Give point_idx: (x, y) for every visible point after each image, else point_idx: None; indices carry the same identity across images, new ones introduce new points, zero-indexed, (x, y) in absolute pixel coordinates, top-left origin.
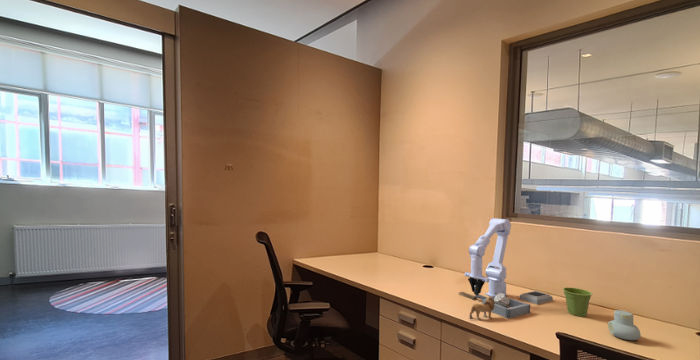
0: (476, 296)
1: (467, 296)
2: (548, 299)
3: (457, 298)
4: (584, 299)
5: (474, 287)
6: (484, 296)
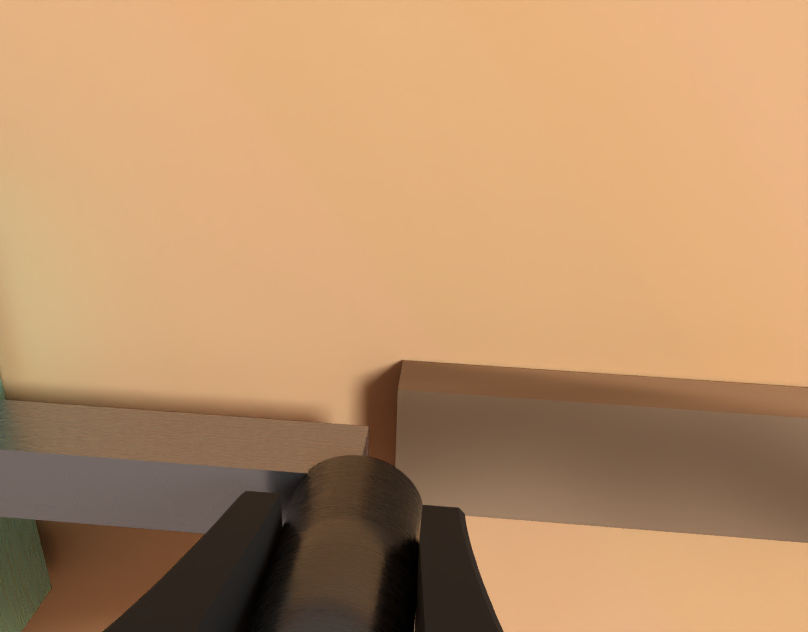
0: (325, 442)
1: (600, 388)
2: None
3: (730, 49)
4: None
5: (337, 627)
6: (108, 515)
